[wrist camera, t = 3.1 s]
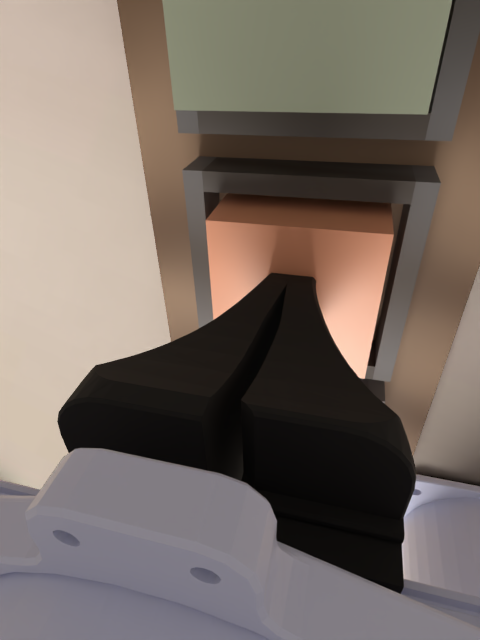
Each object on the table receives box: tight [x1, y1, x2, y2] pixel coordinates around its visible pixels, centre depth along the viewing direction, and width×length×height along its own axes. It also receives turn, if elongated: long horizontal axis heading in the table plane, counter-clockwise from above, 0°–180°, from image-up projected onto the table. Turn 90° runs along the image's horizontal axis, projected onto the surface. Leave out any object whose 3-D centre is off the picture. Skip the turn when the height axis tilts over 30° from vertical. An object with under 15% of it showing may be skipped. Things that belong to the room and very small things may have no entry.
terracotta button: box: [206, 193, 394, 379], centre depth 14 cm, size 5×5×2 cm
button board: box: [117, 0, 480, 456], centre depth 15 cm, size 24×11×3 cm, turn 2°
